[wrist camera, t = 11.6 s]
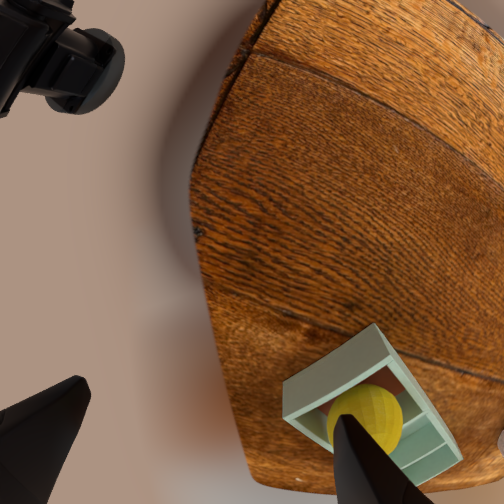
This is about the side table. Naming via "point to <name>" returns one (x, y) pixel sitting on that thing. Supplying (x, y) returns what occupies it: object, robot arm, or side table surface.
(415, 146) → the side table surface
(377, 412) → the fruit
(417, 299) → the side table surface
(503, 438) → the planter
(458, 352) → the side table surface
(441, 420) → the compartment tray
